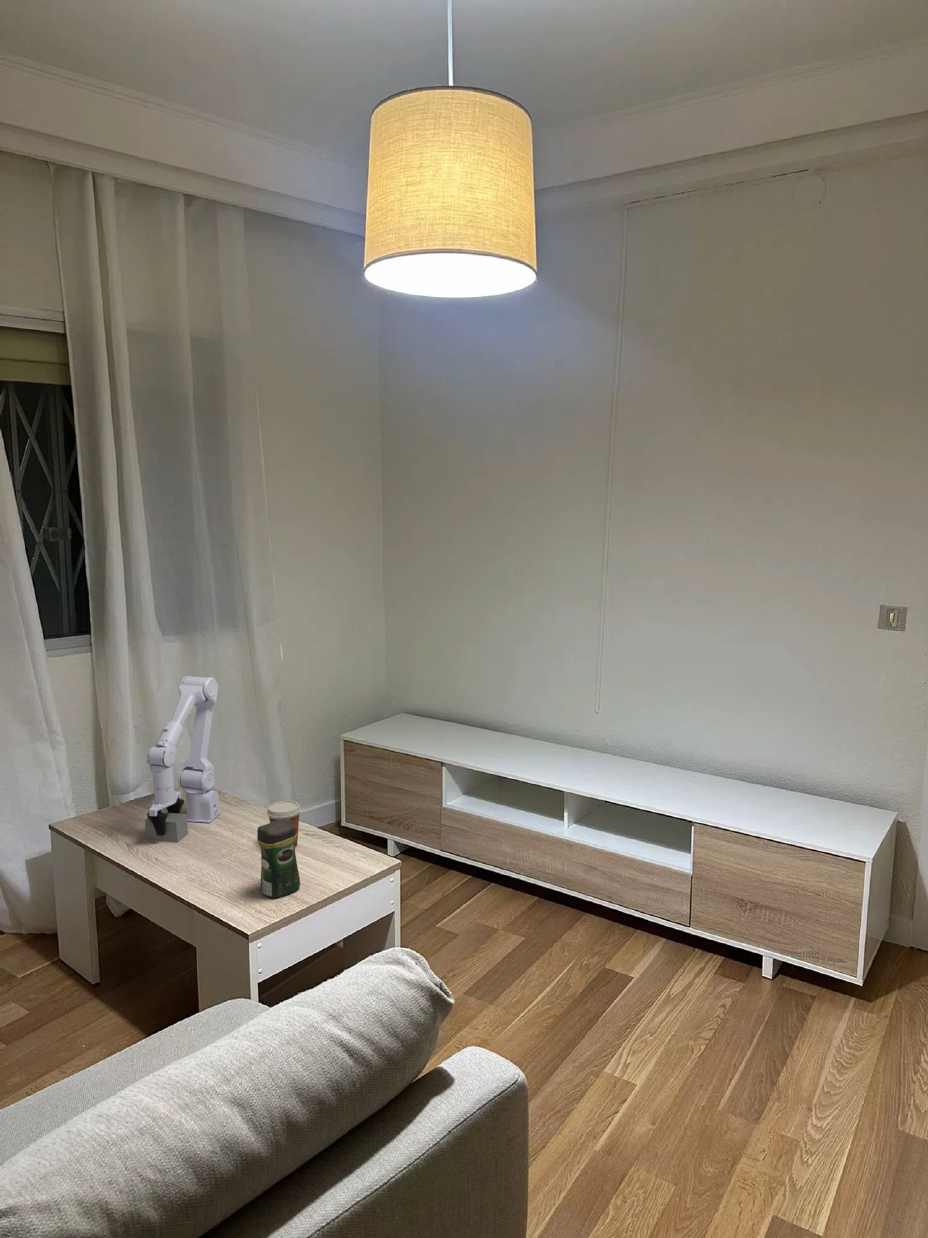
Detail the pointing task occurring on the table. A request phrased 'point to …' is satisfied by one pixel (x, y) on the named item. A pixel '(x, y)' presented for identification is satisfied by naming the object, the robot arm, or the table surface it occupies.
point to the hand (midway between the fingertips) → (167, 829)
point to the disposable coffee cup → (285, 813)
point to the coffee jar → (278, 858)
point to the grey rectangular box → (169, 828)
